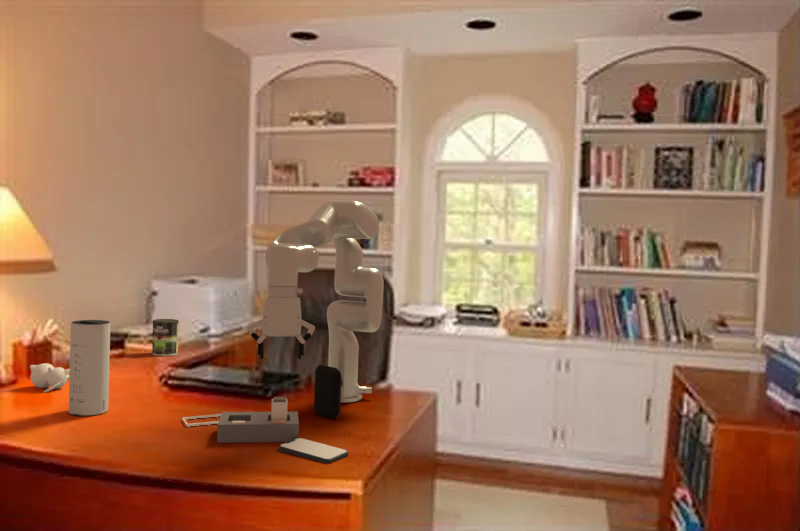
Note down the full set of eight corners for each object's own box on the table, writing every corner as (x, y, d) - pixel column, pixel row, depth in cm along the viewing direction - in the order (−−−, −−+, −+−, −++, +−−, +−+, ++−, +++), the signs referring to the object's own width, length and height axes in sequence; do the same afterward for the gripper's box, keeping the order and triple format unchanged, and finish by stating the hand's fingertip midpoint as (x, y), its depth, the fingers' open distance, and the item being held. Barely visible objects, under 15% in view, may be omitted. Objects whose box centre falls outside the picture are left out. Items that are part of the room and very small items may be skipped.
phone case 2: (350, 457, 165) (299, 443, 173) (350, 450, 164) (299, 436, 173) (328, 467, 157) (275, 452, 165) (328, 460, 157) (275, 445, 165)
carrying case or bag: (344, 419, 194) (346, 368, 194) (337, 421, 192) (339, 370, 191) (318, 412, 201) (320, 363, 200) (311, 414, 199) (312, 364, 198)
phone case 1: (236, 417, 195) (181, 422, 188) (236, 412, 195) (181, 417, 188) (242, 423, 188) (186, 429, 181) (242, 419, 188) (187, 424, 181)
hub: (297, 427, 185) (297, 410, 184) (298, 441, 173) (298, 422, 173) (221, 428, 181) (221, 410, 181) (217, 442, 169) (217, 423, 169)
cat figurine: (68, 360, 218) (36, 355, 220) (47, 383, 209) (14, 378, 212) (77, 379, 223) (46, 375, 225) (57, 403, 214) (25, 398, 217)
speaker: (117, 410, 195) (118, 320, 194) (86, 418, 186) (88, 323, 185) (90, 405, 200) (92, 316, 199) (59, 413, 190) (61, 320, 189)
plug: (286, 428, 180) (287, 396, 180) (286, 433, 176) (287, 400, 176) (270, 428, 180) (271, 396, 179) (270, 433, 176) (271, 400, 175)
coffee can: (170, 357, 278) (171, 322, 277) (147, 355, 279) (147, 321, 279) (182, 352, 288) (183, 319, 287) (159, 351, 289) (160, 318, 289)
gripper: (315, 291, 181) (313, 355, 182) (249, 290, 178) (247, 355, 179) (316, 294, 174) (314, 361, 175) (247, 293, 171) (245, 361, 172)
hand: (280, 358), depth 177 cm, fingers open, 9 cm apart
